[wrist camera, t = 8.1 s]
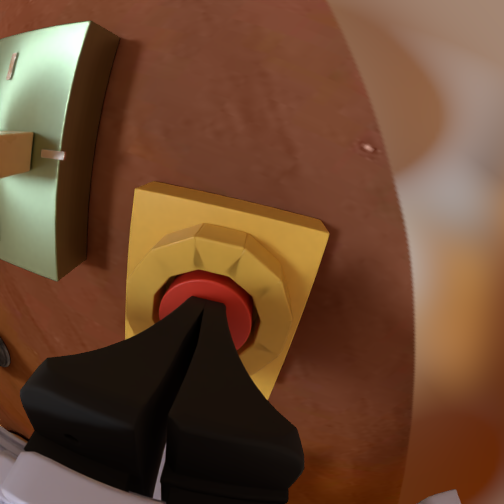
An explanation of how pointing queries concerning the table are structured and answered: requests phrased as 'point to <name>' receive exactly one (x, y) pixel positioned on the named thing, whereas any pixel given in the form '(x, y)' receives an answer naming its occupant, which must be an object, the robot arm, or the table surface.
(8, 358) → the salt shaker
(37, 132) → the panel
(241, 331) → the button
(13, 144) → the handle
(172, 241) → the button block
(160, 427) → the robot arm
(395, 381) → the table surface
